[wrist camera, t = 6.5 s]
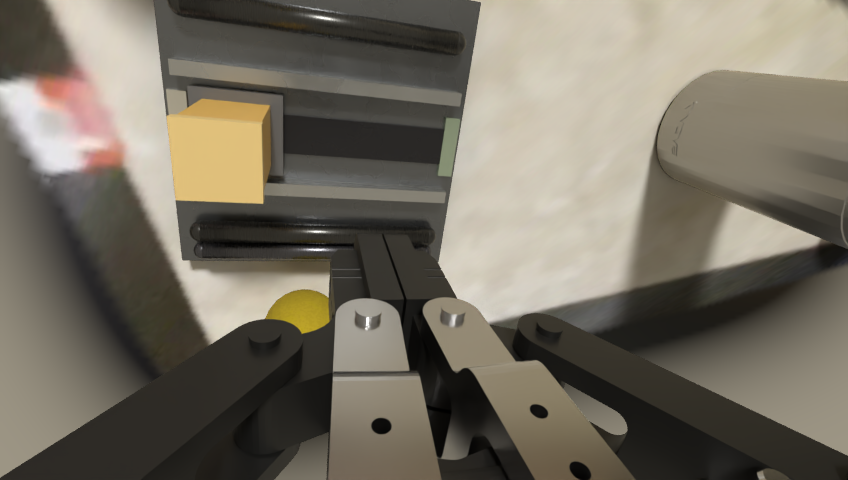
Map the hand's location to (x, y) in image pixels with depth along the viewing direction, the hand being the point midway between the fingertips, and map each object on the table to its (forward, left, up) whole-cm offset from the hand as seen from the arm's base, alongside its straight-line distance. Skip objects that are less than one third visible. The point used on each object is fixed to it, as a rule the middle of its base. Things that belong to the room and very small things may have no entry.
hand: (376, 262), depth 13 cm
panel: (+1, 0, -19) cm, 19 cm away
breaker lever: (+6, 0, -17) cm, 18 cm away
